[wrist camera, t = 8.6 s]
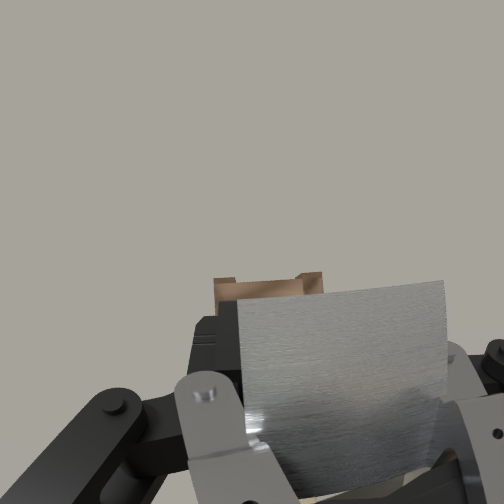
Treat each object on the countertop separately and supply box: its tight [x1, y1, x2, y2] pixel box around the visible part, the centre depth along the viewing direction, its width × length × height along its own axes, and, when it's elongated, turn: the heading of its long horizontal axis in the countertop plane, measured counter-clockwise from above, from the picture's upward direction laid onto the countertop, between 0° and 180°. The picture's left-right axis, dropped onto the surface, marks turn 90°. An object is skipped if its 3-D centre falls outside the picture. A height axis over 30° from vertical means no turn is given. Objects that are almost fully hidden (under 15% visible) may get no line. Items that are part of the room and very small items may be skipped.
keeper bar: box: [237, 280, 448, 500], centre depth 17 cm, size 7×25×5 cm, turn 1°
